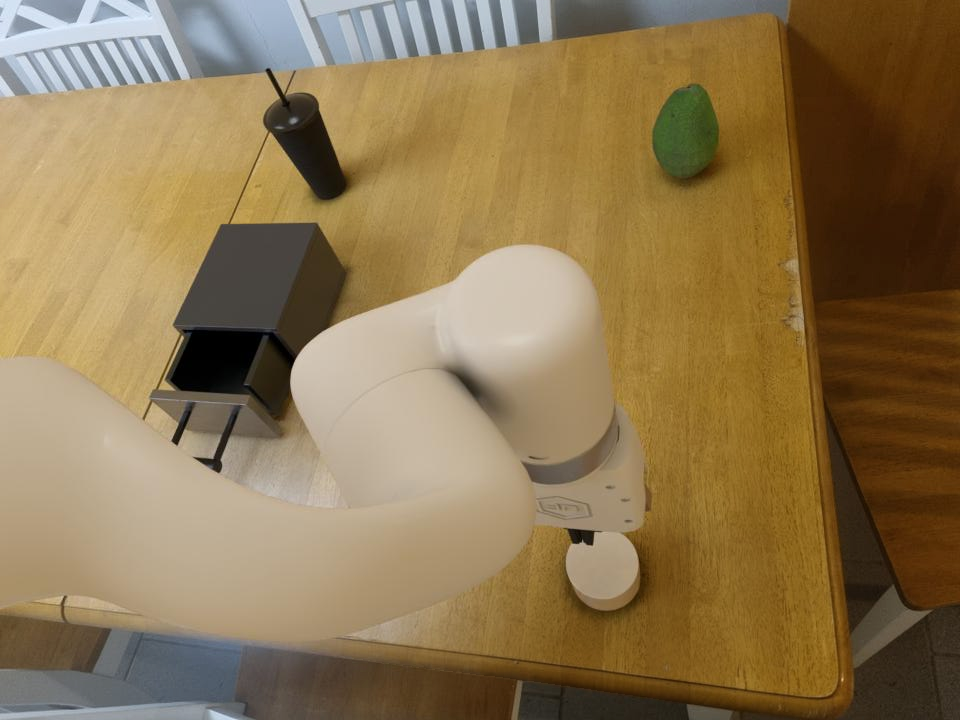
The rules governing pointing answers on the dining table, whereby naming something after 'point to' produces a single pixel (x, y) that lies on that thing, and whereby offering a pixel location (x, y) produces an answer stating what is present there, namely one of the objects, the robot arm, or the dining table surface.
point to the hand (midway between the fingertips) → (585, 526)
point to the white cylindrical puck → (604, 571)
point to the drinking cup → (305, 140)
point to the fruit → (686, 132)
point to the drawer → (226, 386)
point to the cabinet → (265, 283)
